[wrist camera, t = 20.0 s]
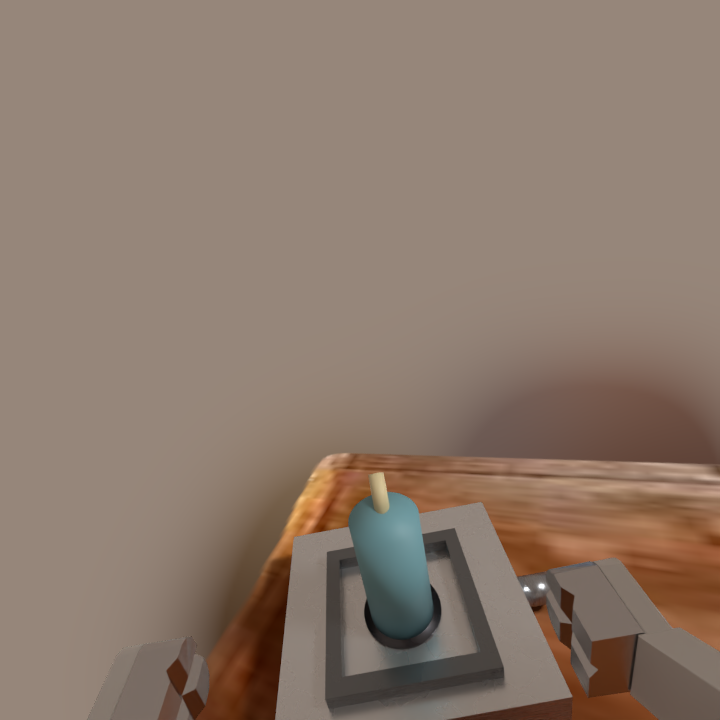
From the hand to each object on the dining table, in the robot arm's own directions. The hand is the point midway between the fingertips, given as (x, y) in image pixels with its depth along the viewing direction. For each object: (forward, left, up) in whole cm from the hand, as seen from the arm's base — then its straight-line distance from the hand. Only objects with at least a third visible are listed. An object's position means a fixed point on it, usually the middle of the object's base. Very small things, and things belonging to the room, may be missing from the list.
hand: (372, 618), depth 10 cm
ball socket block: (-2, -18, -28) cm, 33 cm away
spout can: (0, -17, -24) cm, 29 cm away
